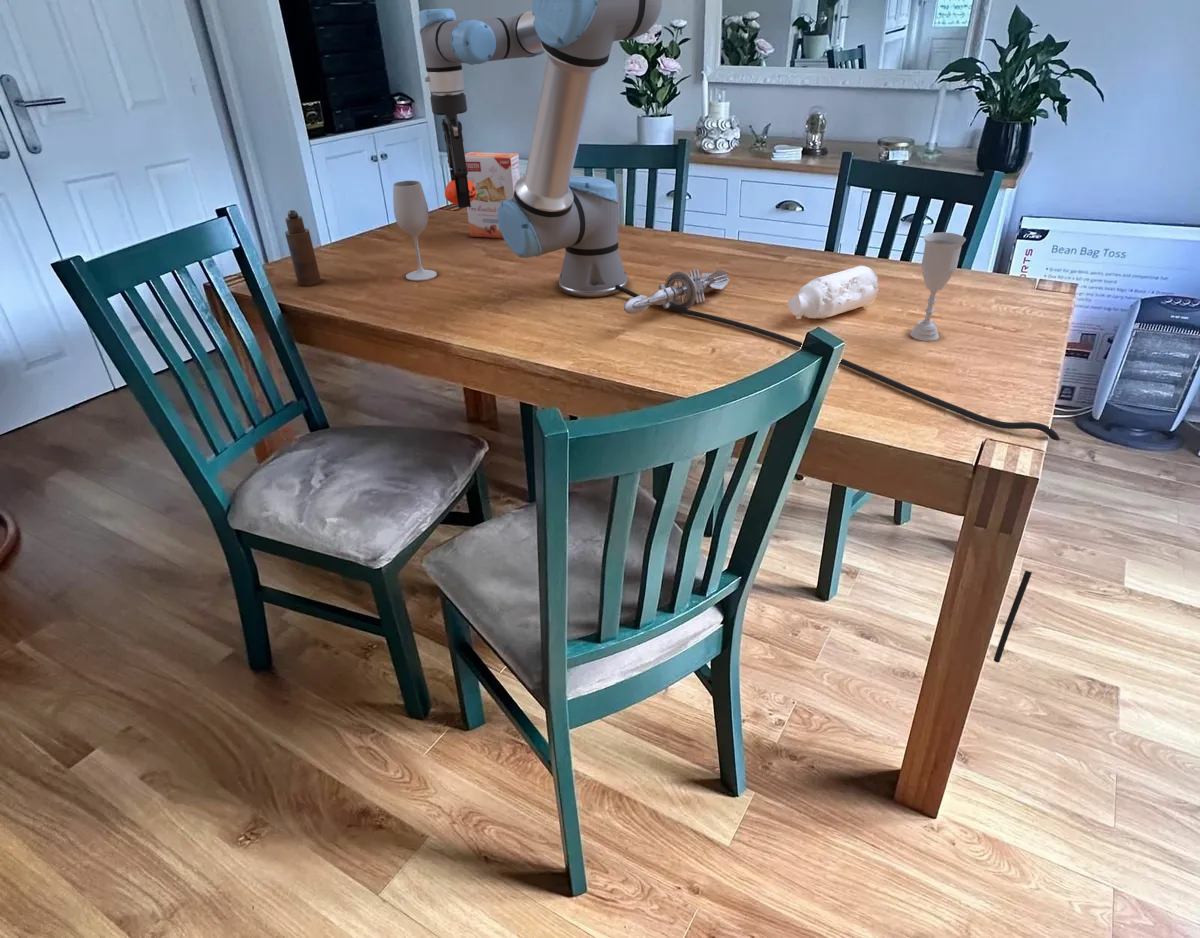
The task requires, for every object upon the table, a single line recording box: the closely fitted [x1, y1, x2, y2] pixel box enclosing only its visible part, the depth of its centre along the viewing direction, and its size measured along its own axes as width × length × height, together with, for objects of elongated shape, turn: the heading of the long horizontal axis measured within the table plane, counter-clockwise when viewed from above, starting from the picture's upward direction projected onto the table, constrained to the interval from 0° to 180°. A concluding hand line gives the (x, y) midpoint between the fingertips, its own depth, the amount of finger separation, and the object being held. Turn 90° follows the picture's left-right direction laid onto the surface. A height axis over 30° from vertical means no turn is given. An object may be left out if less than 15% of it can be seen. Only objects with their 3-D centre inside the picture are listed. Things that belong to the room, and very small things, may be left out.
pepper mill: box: [284, 209, 322, 287], centre depth 176 cm, size 5×5×17 cm
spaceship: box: [623, 268, 730, 315], centre depth 155 cm, size 8×35×8 cm
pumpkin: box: [444, 180, 477, 206], centre depth 174 cm, size 7×8×6 cm
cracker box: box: [462, 151, 521, 239], centre depth 202 cm, size 14×6×21 cm, turn 73°
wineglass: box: [392, 180, 438, 282], centre depth 176 cm, size 8×8×21 cm
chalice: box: [909, 231, 967, 342], centre depth 138 cm, size 7×7×18 cm
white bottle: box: [787, 265, 880, 320], centre depth 150 cm, size 8×19×8 cm, turn 121°
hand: (462, 202), depth 176 cm, fingers closed on pumpkin, 8 cm apart
